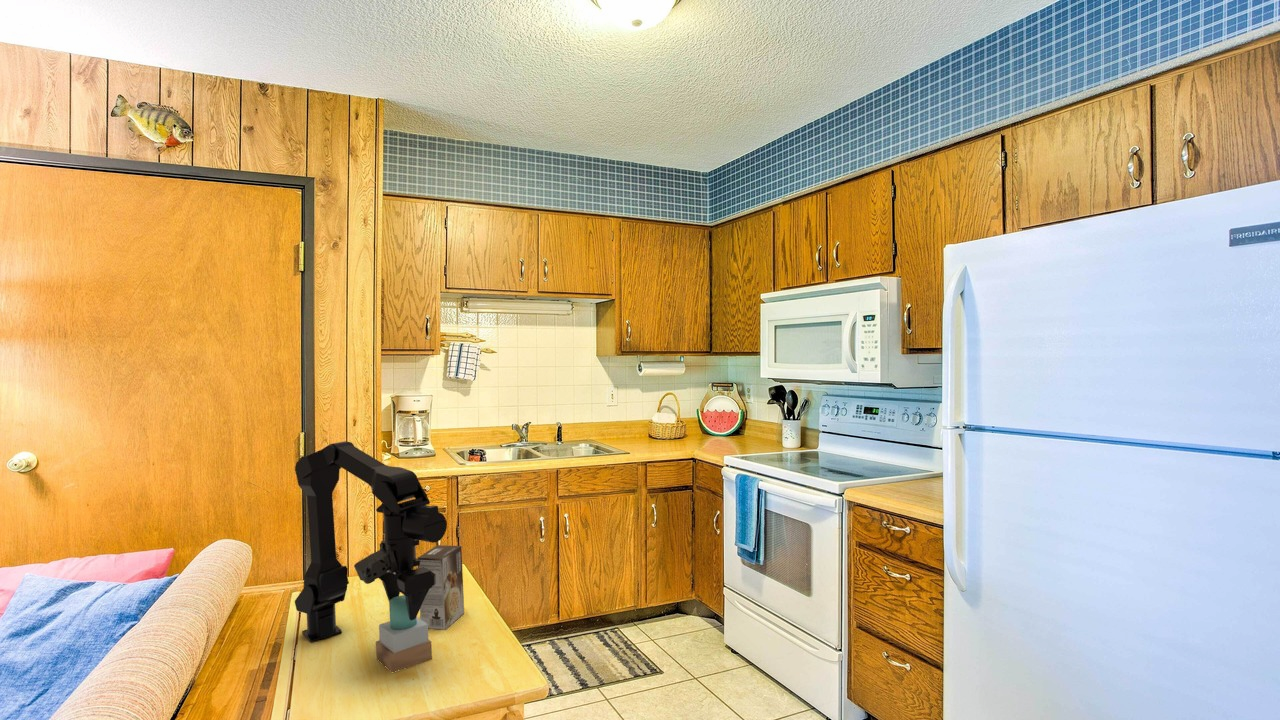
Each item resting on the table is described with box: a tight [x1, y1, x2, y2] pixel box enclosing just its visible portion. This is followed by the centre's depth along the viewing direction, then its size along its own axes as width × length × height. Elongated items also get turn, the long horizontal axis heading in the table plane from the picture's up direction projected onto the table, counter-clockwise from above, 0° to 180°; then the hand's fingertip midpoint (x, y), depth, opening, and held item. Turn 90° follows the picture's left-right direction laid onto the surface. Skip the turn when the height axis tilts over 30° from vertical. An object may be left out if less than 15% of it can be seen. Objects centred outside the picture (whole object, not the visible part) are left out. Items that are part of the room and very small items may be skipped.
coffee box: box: [416, 544, 465, 630], centre depth 153 cm, size 9×6×16 cm
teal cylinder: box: [388, 594, 418, 630], centre depth 135 cm, size 5×5×5 cm
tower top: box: [378, 617, 429, 653], centre depth 135 cm, size 7×7×4 cm
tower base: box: [375, 638, 433, 673], centre depth 135 cm, size 8×8×4 cm
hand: (402, 612), depth 135 cm, fingers open, 9 cm apart
